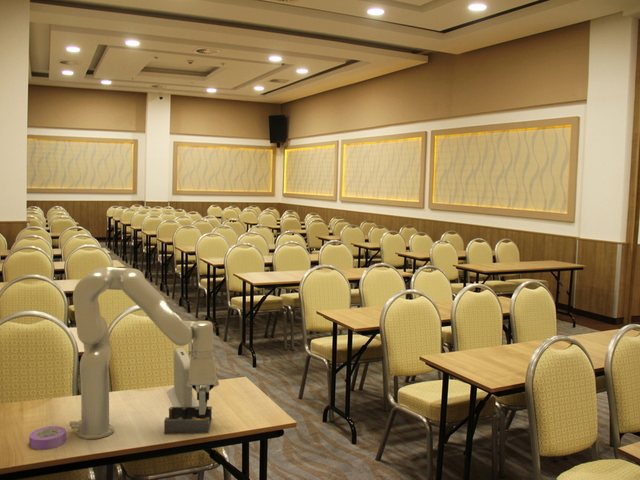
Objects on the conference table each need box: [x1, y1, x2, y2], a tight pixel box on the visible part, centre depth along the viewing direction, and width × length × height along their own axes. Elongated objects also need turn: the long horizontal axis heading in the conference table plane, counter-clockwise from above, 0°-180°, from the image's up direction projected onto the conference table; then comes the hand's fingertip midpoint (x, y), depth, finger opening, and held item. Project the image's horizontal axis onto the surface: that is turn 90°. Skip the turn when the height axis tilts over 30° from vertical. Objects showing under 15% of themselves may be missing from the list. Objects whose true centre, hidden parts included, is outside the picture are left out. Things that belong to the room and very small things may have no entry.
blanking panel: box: [198, 385, 208, 415], centre depth 228 cm, size 2×11×8 cm, turn 6°
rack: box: [163, 405, 213, 435], centre depth 228 cm, size 16×14×5 cm
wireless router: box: [166, 347, 199, 407], centre depth 256 cm, size 31×10×20 cm, turn 22°
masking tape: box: [28, 425, 67, 451], centre depth 211 cm, size 12×12×4 cm
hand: (203, 401), depth 228 cm, fingers closed on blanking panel, 1 cm apart
